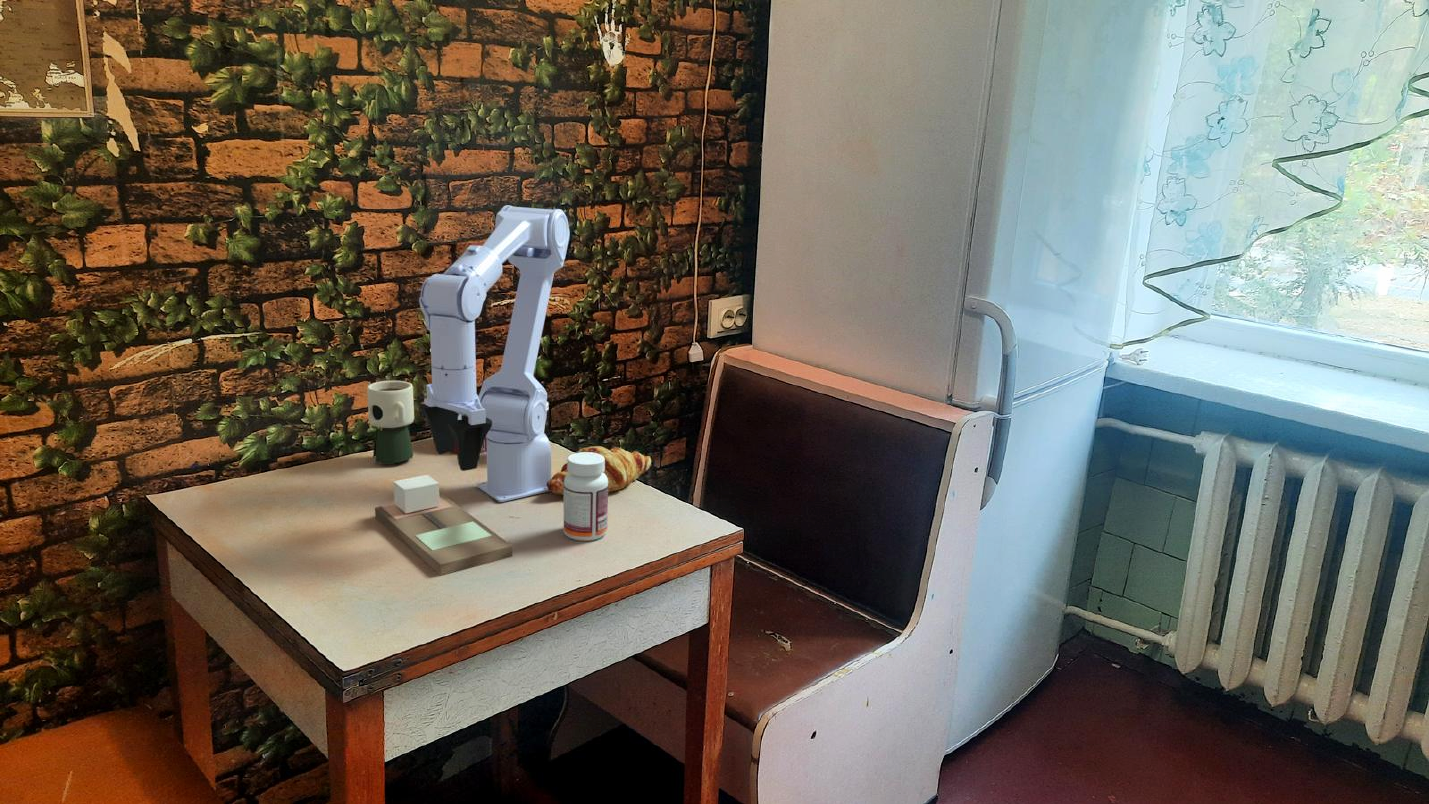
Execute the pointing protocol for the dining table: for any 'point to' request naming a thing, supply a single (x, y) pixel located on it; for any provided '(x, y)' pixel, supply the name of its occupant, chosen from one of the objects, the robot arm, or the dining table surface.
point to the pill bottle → (585, 497)
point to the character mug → (391, 419)
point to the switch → (445, 536)
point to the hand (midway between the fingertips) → (456, 460)
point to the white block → (416, 493)
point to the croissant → (609, 468)
